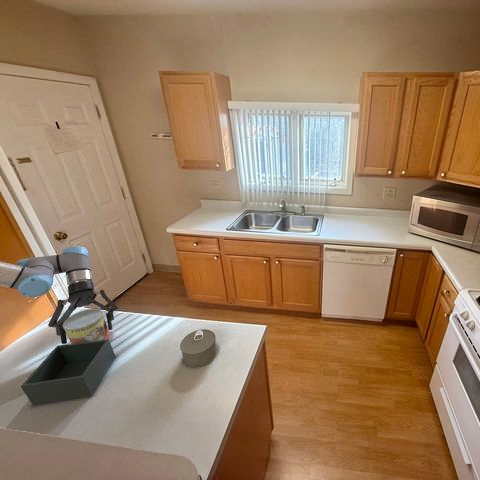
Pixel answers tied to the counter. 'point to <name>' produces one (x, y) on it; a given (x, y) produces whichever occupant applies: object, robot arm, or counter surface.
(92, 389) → the open dark gray bin
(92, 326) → the canned food
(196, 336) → the can
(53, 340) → the counter surface
